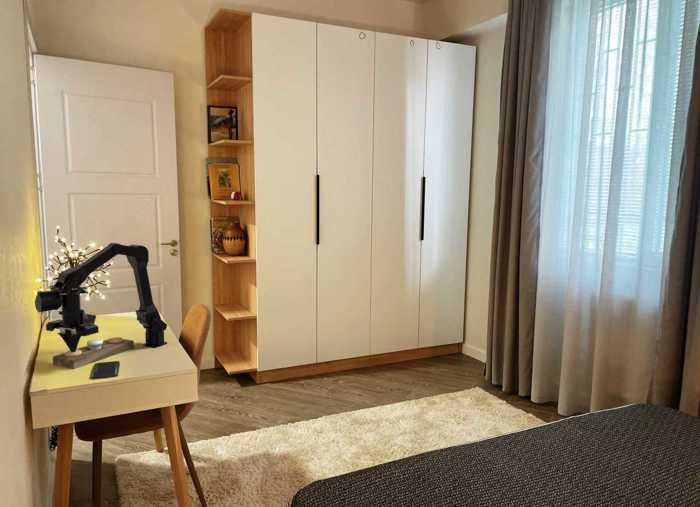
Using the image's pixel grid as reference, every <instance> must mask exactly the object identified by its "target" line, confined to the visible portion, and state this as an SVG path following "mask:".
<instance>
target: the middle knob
mask: <svg viewBox="0 0 700 507" xmlns="http://www.w3.org/2000/svg"><path fill="white" fill-rule="evenodd" d="M103 341H104V340H103V339H100V338H99V339H98V338H96V339H90V340H88V341H86V346H89V350H94V351H95V350H98V349H101V344H103Z"/></svg>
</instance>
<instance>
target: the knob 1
mask: <svg viewBox="0 0 700 507" xmlns="http://www.w3.org/2000/svg"><path fill="white" fill-rule="evenodd" d="M64 353H65V357H71V358H73V357H76V356H80V355H82V351H81V350H76V351H75V352H71V351H70V350H67V351H65V352H64Z"/></svg>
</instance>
